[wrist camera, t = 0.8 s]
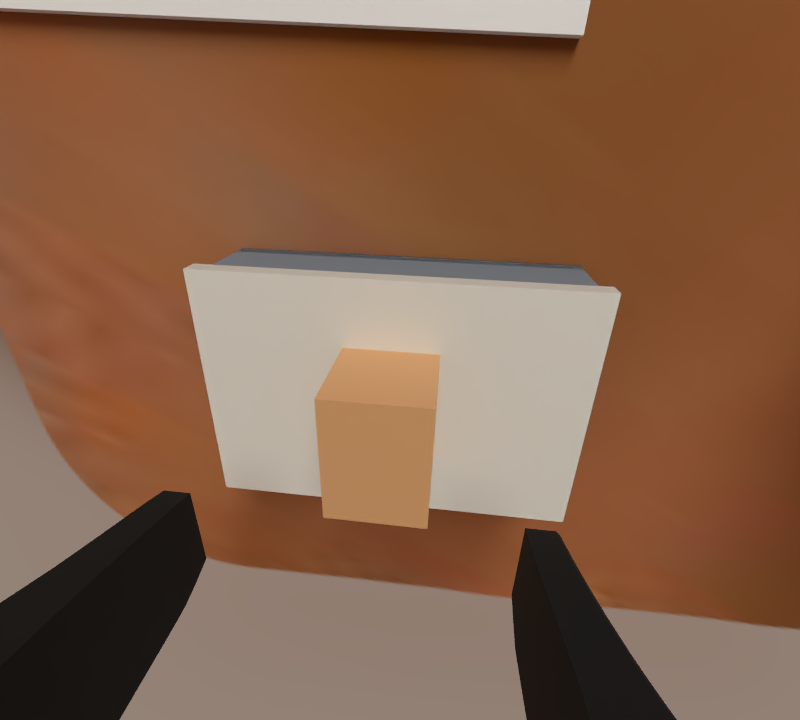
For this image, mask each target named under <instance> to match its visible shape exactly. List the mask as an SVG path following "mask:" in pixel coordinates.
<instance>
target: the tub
mask: <svg viewBox="0 0 800 720" xmlns="http://www.w3.org/2000/svg"><path fill="white" fill-rule="evenodd" d="M212 265H227V266H245V267H263V268H281V269H299V270H317V271H335V272H353V273H371V274H389V275H407V276H425V277H443V278H461V279H479V280H497V281H515V282H533V283H551V284H569V285H587V286H598V285H597V284H596V283H595V282H594V280H593V279H592V278H591V277H590V276H589V275H588V274H587V273H586V272H585V271H584V269H583V268H582V267H581V266H576V265H557V264H537V263H518V262H499V261H479V260H460V259H440V258H421V257H402V256H382V255H363V254H343V253H324V252H305V251H285V250H266V249H247V248H242V249H241V250H239V251H237V252H235V253H233V254H231V255H229V256H227V257H225V258H224V259H222V260H220V261H218V262H216V263H214V264H212Z"/></svg>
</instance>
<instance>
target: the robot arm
mask: <svg viewBox="0 0 800 720" xmlns="http://www.w3.org/2000/svg"><path fill="white" fill-rule="evenodd" d="M205 560H206V556H205V552H204V548H203V544H202V539H201V535H200V531H199V527H198V523H197V519H196V515H195V511H194V507H193V503H192V499H191V495H190V493H182V492H172V491H163V492H161V493H160V494H158V495H157V496H155V497H154V498H152V499H151V500H149V501H148V502H146V503H145V504H143V505H142V506H141V507H139V508H138V509H136V510H135V511H134V512H132V513H131V514H129V515H128V516H126V517H125V518H124V519H122V520H121V521H119V522H118V523H117V524H116V525H114V526H112V527H111V528H110V529H108V530H107V531H105V532H104V533H103V534H101V535H100V536H98V537H97V538H96V539H94V540H93V541H91V542H90V543H88V544H87V545H86V546H84V547H83V548H81V549H80V550H78V551H77V552H76V553H74V554H73V555H71V556H70V557H68V558H67V559H66V560H64V561H63V562H61V563H60V564H58V565H57V566H56V567H54V568H53V569H51V570H50V571H48V572H47V573H45V574H43V575H42V576H40V577H39V578H37V579H36V580H34V581H33V582H31V583H30V584H29V585H27V586H25V587H24V588H22V589H21V590H19V591H18V592H16V593H15V594H13V595H12V596H10V597H8V598H7V599H6V600H4V601H2V602H1V603H0V720H119V719H120V718H121V716H122V714H123V712H124V711H125V709H126V707H127V706H128V704H129V702H130V700H131V699H132V697H133V695H134V694H135V692H136V690H137V689H138V687H139V685H140V683H141V682H142V680H143V678H144V677H145V675H146V673H147V671H148V670H149V668H150V666H151V665H152V663H153V661H154V660H155V658H156V656H157V654H158V653H159V651H160V649H161V648H162V646H163V644H164V643H165V641H166V639H167V637H168V636H169V634H170V632H171V630H172V629H173V627H174V625H175V623H176V622H177V620H178V618H179V616H180V615H181V613H182V611H183V609H184V607H185V606H186V604H187V601H188V599H189V597H190V595H191V593H192V590H193V588H194V586H195V584H196V582H197V579H198V577H199V574H200V572H201V570H202V567H203V565H204V563H205ZM512 605H513V623H514V637H515V650H516V656H517V663H518V669H519V675H520V681H521V688H522V694H523V700H524V705H525V712H526V718H527V720H676V718H675V717H674V715H673V714H672V713H671V711H670V710H669V709H668V707H667V706H666V704H665V703H664V701H663V700H662V699H661V697H660V696H659V694H658V693H657V692H656V690H655V689H654V687H653V686H652V685H651V683H650V682H649V680H648V679H647V677H646V676H645V675H644V673H643V671H642V670H641V668H640V667H639V666H638V664H637V663H636V661H635V660H634V658H633V657H632V655H631V654H630V652H629V651H628V649H627V647H626V646H625V644H624V643H623V641H622V640H621V638H620V637H619V635H618V634H617V632H616V631H615V629H614V627H613V626H612V624H611V623H610V621H609V620H608V618H607V616H606V615H605V613H604V612H603V610H602V608H601V607H600V605H599V603H598V602H597V600H596V598H595V597H594V595H593V593H592V592H591V590H590V588H589V587H588V585H587V583H586V581H585V580H584V578H583V576H582V575H581V573H580V571H579V569H578V568H577V566H576V564H575V562H574V560H573V559H572V557H571V555H570V553H569V551H568V550H567V548H566V546H565V544H564V542H563V540H562V538H561V536H560V535H559V534H558V533H557V532H556V531H546V530H537V529H527V528H525V533H524V538H523V543H522V547H521V552H520V557H519V562H518V567H517V572H516V577H515V582H514V586H513V591H512Z"/></svg>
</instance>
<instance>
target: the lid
mask: <svg viewBox="0 0 800 720" xmlns="http://www.w3.org/2000/svg"><path fill="white" fill-rule="evenodd" d="M183 271H184V277H185V282H186V287H187V292H188V297H189V302H190V307H191V312H192V317H193V322H194V327H195V332H196V337H197V342H198V347H199V352H200V357H201V362H202V367H203V372H204V377H205V382H206V387H207V392H208V397H209V402H210V407H211V412H212V417H213V422H214V427H215V432H216V437H217V442H218V447H219V452H220V457H221V462H222V467H223V472H224V477H225V482H226V487H232V488H241V489H251V490H261V491H270V492H280V493H289V494H299V495H308V496H318V497H322V509H323V518H331V519H340V520H349V521H358V522H368V523H377V524H386V525H395V526H404V527H414V528H423V529H427V528H428V515H429V508H433V509H442V510H452V511H462V512H471V513H481V514H490V515H500V516H509V517H519V518H529V519H538V520H548V521H557V522H563V519H564V515H565V511H566V508H567V504H568V500H569V496H570V492H571V488H572V484H573V480H574V476H575V472H576V468H577V465H578V461H579V457H580V453H581V449H582V445H583V441H584V437H585V433H586V429H587V426H588V422H589V418H590V414H591V410H592V406H593V402H594V398H595V394H596V390H597V386H598V383H599V379H600V375H601V371H602V367H603V363H604V359H605V355H606V351H607V347H608V343H609V340H610V336H611V332H612V328H613V324H614V320H615V316H616V312H617V308H618V304H619V301H620V297H621V293H620V292H619V291H618V290H617V289H616V288H615V287H605V286H587V285H569V284H551V283H533V282H515V281H497V280H479V279H461V278H443V277H425V276H407V275H389V274H371V273H353V272H335V271H317V270H299V269H281V268H263V267H245V266H227V265H209V264H192V265H190V266H188V267H186V268H184V269H183Z"/></svg>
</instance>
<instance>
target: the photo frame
mask: <svg viewBox="0 0 800 720" xmlns="http://www.w3.org/2000/svg"><path fill="white" fill-rule="evenodd" d="M590 1H591V0H0V11H7V12H28V13H49V14H71V15H92V16H113V17H134V18H155V19H176V20H198V21H219V22H240V23H261V24H282V25H303V26H325V27H346V28H367V29H388V30H409V31H430V32H452V33H473V34H494V35H515V36H536V37H557V38H581V37H582V36H583V35H584V31H585V26H586V21H587V16H588V11H589V6H590Z"/></svg>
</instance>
